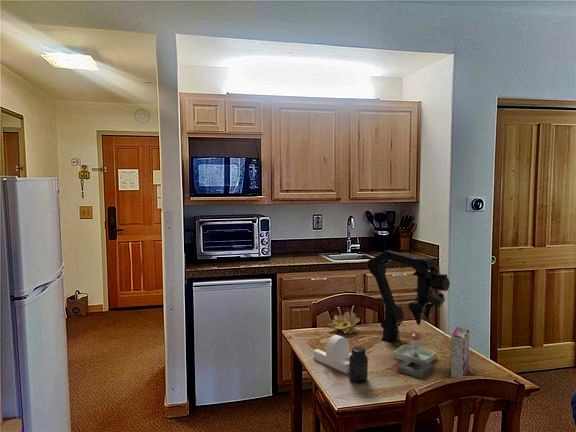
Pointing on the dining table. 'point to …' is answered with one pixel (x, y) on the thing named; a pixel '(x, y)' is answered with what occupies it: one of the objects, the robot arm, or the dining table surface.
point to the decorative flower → (345, 322)
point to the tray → (424, 357)
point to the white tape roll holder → (335, 354)
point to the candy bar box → (459, 352)
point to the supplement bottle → (358, 365)
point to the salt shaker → (414, 344)
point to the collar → (407, 369)
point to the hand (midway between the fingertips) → (422, 321)
